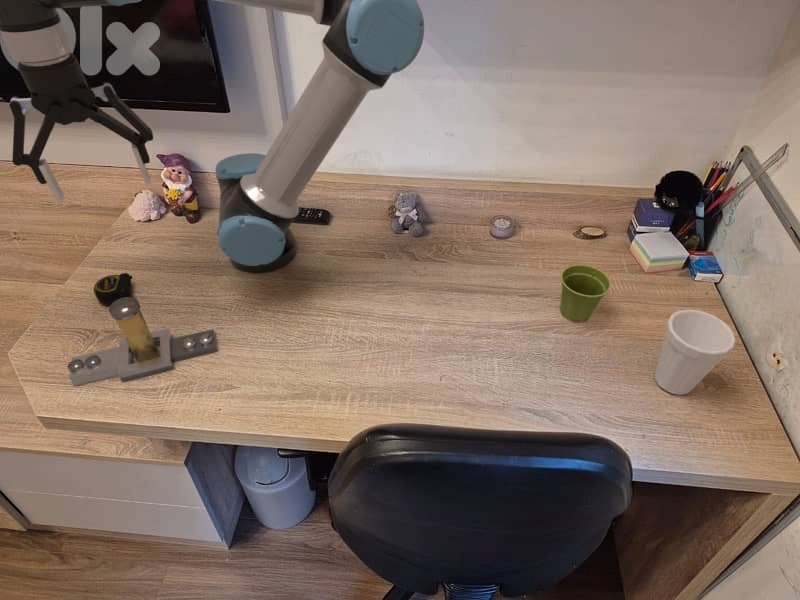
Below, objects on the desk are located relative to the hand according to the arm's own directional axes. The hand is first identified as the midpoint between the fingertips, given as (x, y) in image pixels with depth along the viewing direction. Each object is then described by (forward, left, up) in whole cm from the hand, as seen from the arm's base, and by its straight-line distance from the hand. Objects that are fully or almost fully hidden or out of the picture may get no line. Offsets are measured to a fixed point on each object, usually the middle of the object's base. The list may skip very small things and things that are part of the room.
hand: (105, 189), depth 88 cm
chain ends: (+1, +14, -27) cm, 30 cm away
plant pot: (-80, +30, -27) cm, 89 cm away
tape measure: (+7, -6, -27) cm, 29 cm away
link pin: (+1, +14, -27) cm, 30 cm away
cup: (-86, +51, -27) cm, 103 cm away
